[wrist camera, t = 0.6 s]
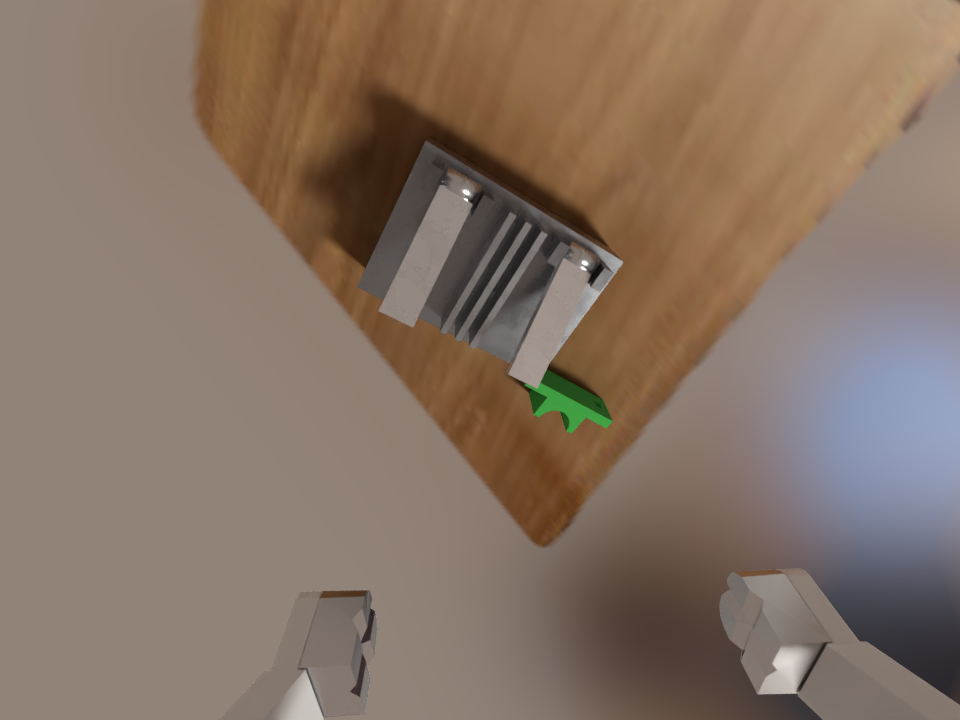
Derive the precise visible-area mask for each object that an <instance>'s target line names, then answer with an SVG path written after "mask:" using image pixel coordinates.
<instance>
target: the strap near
mask: <svg viewBox="0 0 960 720" xmlns="http://www.w3.org/2000/svg"><path fill="white" fill-rule="evenodd" d="M481 188H482V186H481V185H480V184H478V183H476V182H475V181H473V180H471V179H470V178H468V177H466V176H465V175H463V174H461V173H460V172H458V171H457V170H455V169H453V168H452V167H450V166H449V168H448V170H447V171H446V173H445V175H444V177H443V179H442V181H441V184H440V186H439V188H438V190H437V192H436V194H435V196H434V198H433V200H432V202H431V204H430V206H429V208H428V210H427V212H426V214H425V216H424V218H423V220H422V222H421V224H420V227H419V229H418V231H417V233H416V235H415V237H414V239H413V241H412V243H411V245H410V247H409V249H408V251H407V253H406V255H405V257H404V259H403V261H402V263H401V265H400V267H399V269H398V271H397V273H396V275H395V278H394V280H393V282H392V284H391V286H390V288H389V290H388V292H387V294H386V296H385V298H384V300H383V302H382V304H381V306H380V308H379V310H378V311H379V312H381V313H383V314H385V315H387V316H389V317H391V318H394V319H396V320H398V321H400V322H402V323H404V324H406V325H408V326H410V327H412V328H413V327H414V325H415V323H416V321H417V319H418V316H419V314H420V312H421V310H422V308H423V306H424V304H425V302H426V300H427V298H428V296H429V294H430V292H431V290H432V288H433V286H434V284H435V281H436V279H437V277H438V275H439V273H440V271H441V269H442V267H443V265H444V263H445V261H446V259H447V257H448V255H449V253H450V251H451V249H452V246H453V244H454V242H455V240H456V238H457V236H458V234H459V232H460V230H461V228H462V226H463V224H464V222H465V220H466V218H467V216H468V214H469V211H470V209H471V207H472V205H473V204H474V202H475V200H476V199H477V197H478V195H479V193H480V191H481Z"/></svg>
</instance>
